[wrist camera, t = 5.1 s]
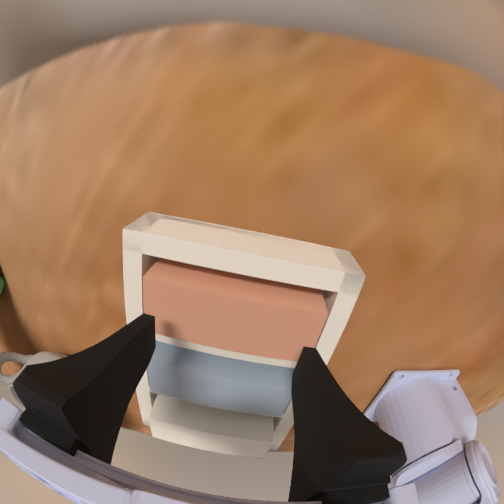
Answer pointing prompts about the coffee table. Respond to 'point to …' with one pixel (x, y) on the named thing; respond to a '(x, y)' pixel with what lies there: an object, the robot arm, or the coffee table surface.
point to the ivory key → (211, 428)
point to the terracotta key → (233, 310)
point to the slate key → (220, 380)
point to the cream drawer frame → (245, 263)
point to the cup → (1, 284)
